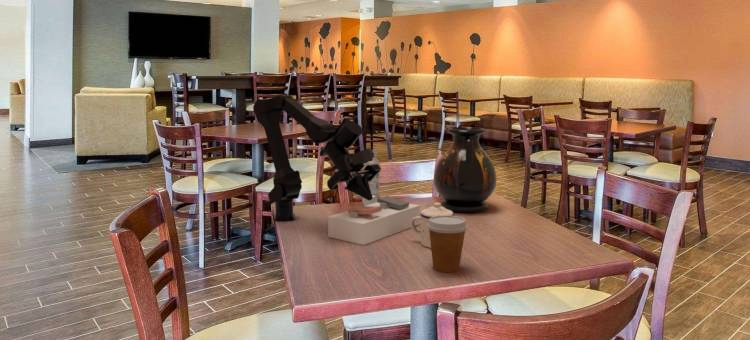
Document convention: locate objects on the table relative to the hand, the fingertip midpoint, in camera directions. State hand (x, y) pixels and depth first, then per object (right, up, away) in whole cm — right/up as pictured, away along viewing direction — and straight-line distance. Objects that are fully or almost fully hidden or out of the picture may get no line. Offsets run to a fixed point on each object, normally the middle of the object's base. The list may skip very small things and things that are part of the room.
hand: (371, 199), depth 161 cm
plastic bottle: (0, -5, +39) cm, 39 cm away
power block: (+1, -10, +10) cm, 14 cm away
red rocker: (-2, -4, +2) cm, 5 cm away
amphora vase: (+32, -5, +38) cm, 50 cm away
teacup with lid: (+17, -12, -4) cm, 21 cm away
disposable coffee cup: (+18, -16, -23) cm, 34 cm away
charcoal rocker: (+7, -2, +13) cm, 15 cm away
